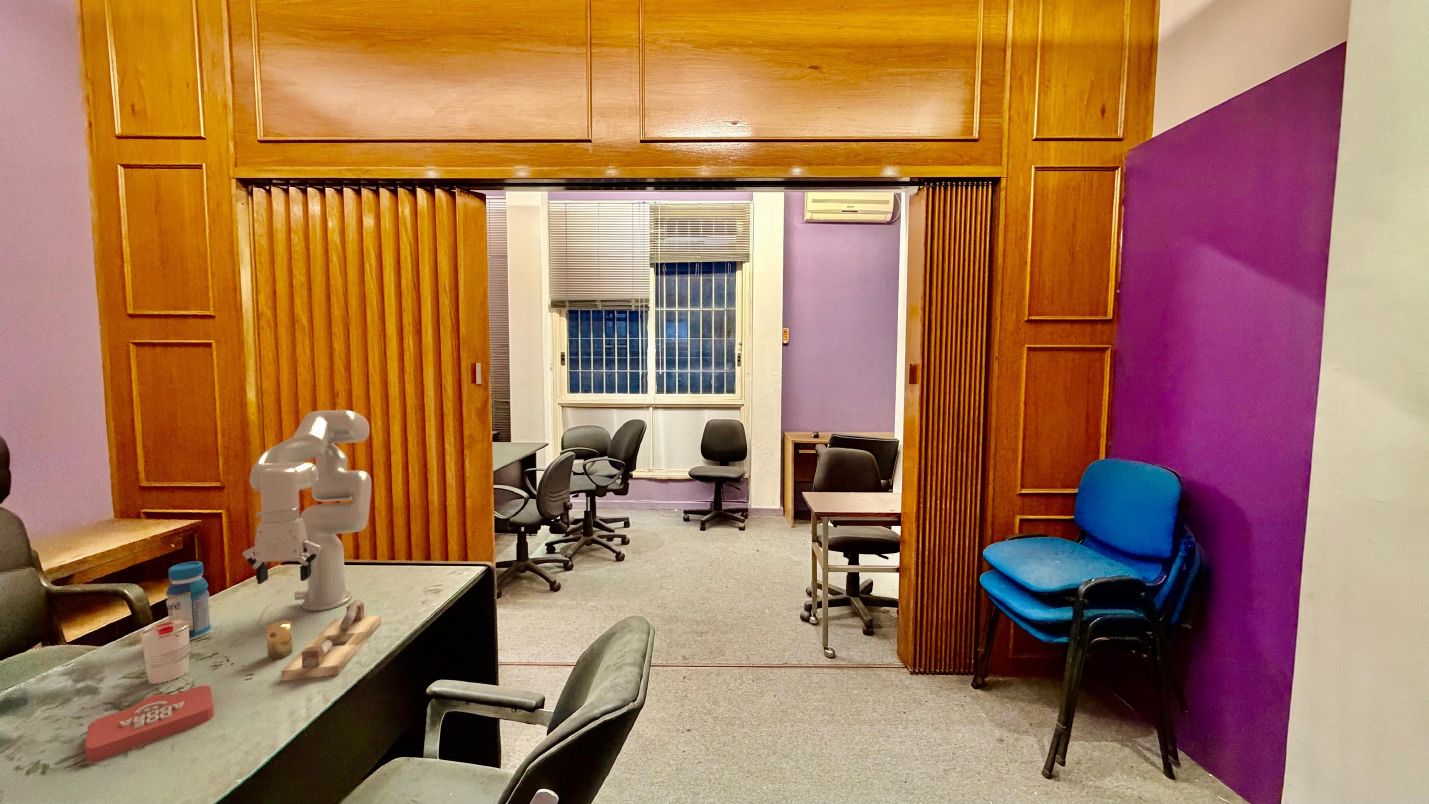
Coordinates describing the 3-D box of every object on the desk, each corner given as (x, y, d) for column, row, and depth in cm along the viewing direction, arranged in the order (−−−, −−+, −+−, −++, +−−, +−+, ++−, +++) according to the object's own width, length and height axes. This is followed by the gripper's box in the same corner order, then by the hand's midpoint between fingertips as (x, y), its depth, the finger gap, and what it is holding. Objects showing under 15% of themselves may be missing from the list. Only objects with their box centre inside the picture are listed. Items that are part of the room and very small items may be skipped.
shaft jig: (281, 680, 126) (279, 649, 126) (335, 626, 152) (334, 600, 151) (338, 675, 129) (336, 644, 128) (381, 622, 154) (380, 596, 154)
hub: (261, 662, 134) (259, 632, 133) (275, 650, 139) (273, 621, 139) (284, 660, 135) (282, 630, 134) (297, 648, 140) (295, 619, 140)
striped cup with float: (203, 669, 131) (200, 623, 130) (158, 689, 123) (154, 640, 122) (178, 662, 134) (175, 616, 133) (133, 681, 126) (129, 632, 125)
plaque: (208, 675, 123) (213, 704, 113) (209, 691, 123) (215, 721, 113) (89, 712, 110) (84, 748, 100) (91, 729, 110) (85, 767, 100)
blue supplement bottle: (215, 633, 148) (210, 564, 146) (172, 646, 141) (166, 574, 139) (207, 624, 153) (203, 557, 151) (166, 636, 146) (160, 566, 144)
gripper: (232, 521, 130) (235, 589, 131) (311, 517, 134) (314, 583, 135) (251, 513, 138) (255, 577, 139) (326, 510, 141) (329, 572, 142)
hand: (284, 580), depth 137 cm, fingers open, 9 cm apart
